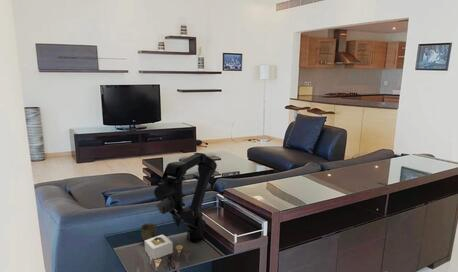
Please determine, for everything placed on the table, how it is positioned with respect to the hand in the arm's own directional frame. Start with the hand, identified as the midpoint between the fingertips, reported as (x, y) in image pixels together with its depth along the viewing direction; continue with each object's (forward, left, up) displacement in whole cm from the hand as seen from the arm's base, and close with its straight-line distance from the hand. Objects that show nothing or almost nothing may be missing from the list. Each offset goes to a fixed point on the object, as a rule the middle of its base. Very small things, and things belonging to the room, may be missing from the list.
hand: (177, 226), depth 145 cm
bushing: (+7, -5, -12) cm, 15 cm away
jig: (+7, -5, -12) cm, 15 cm away
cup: (+7, -15, -12) cm, 21 cm away
